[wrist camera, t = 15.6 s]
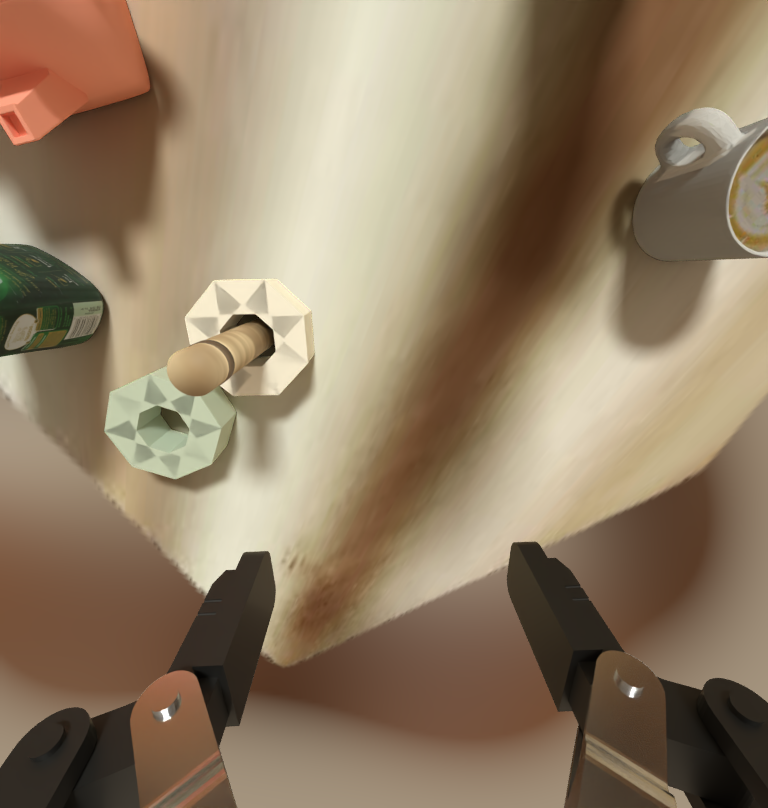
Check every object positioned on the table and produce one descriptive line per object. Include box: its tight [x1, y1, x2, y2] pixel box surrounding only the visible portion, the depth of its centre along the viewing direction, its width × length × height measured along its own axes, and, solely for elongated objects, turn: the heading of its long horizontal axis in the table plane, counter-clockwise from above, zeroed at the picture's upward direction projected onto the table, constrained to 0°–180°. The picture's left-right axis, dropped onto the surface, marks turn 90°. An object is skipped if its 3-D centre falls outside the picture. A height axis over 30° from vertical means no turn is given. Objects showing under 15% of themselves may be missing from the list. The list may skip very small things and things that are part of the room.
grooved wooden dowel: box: [167, 318, 275, 396], centre depth 31 cm, size 3×3×16 cm
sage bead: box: [104, 366, 237, 479], centre depth 39 cm, size 11×11×4 cm
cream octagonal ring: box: [185, 279, 315, 396], centre depth 36 cm, size 11×11×4 cm
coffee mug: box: [633, 107, 768, 261], centre depth 30 cm, size 13×10×10 cm
